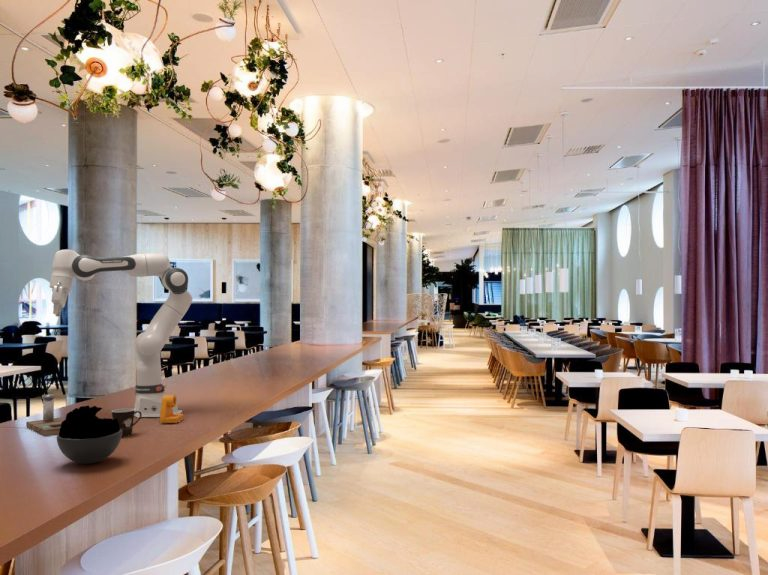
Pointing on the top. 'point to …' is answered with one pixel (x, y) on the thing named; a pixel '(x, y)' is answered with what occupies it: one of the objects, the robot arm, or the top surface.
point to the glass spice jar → (48, 407)
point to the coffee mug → (125, 419)
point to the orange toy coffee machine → (169, 410)
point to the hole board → (46, 426)
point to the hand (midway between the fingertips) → (56, 315)
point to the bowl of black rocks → (88, 435)
